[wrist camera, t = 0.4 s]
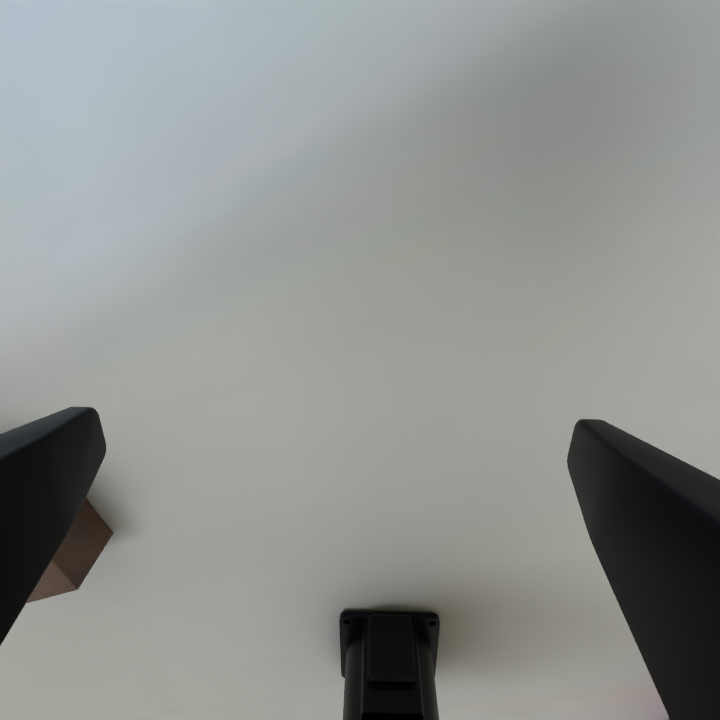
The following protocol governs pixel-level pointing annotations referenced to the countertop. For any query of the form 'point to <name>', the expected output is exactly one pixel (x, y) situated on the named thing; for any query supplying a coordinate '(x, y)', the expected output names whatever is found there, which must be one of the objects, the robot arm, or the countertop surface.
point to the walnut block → (74, 555)
